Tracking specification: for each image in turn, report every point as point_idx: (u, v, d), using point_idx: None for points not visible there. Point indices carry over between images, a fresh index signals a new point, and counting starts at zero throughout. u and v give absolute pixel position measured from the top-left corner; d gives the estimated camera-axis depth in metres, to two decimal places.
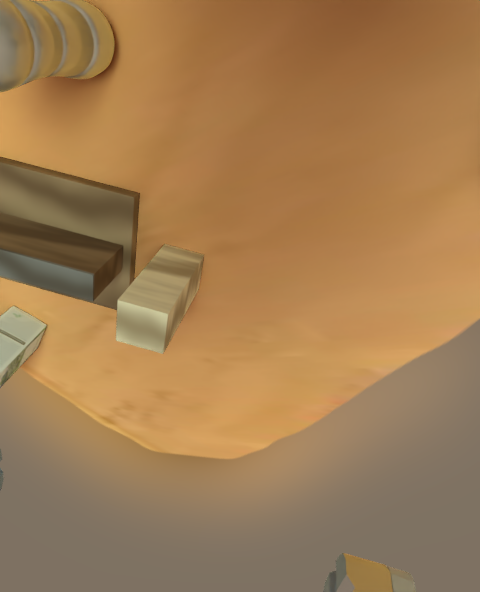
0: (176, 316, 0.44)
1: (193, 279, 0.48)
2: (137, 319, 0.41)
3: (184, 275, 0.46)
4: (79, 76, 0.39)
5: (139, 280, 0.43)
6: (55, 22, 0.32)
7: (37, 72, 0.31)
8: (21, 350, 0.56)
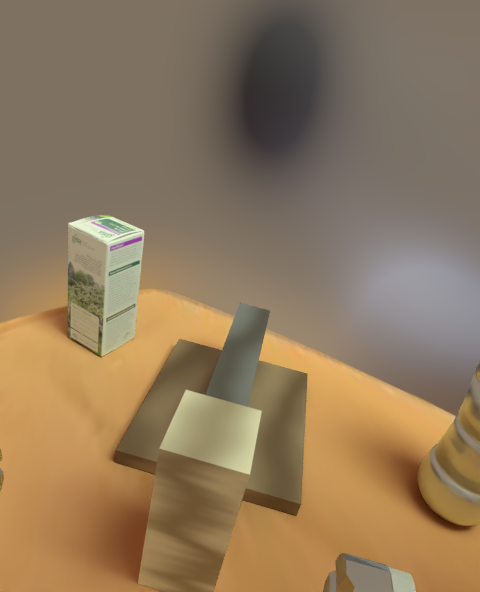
0: (192, 501, 0.24)
1: (200, 565, 0.26)
2: (230, 427, 0.25)
3: None
4: (439, 473, 0.37)
5: None
6: None
7: None
8: (104, 312, 0.45)
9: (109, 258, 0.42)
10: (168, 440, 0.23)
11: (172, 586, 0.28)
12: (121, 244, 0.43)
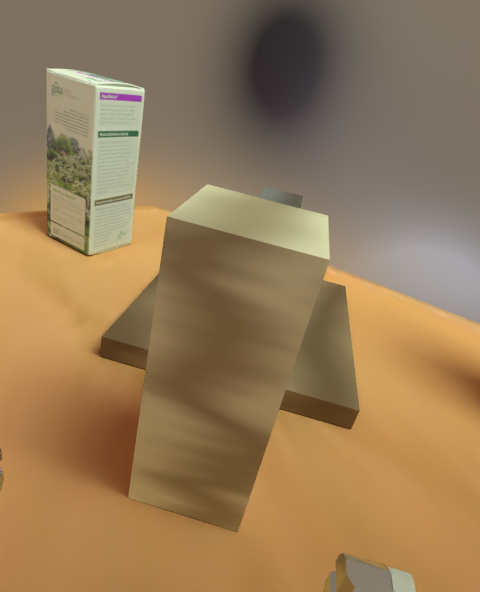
0: (221, 331, 0.14)
1: (228, 458, 0.17)
2: (284, 219, 0.15)
3: None
4: None
5: None
6: None
7: None
8: (92, 190, 0.35)
9: (98, 109, 0.33)
10: (182, 212, 0.13)
11: (181, 500, 0.18)
12: (115, 95, 0.33)
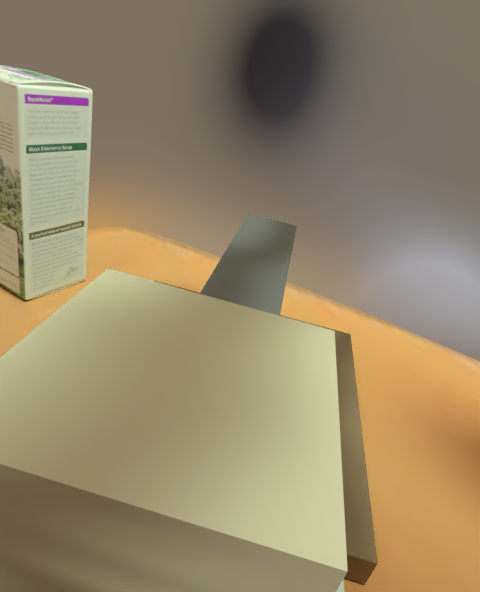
0: None
1: None
2: (242, 367, 0.07)
3: None
4: None
5: None
6: None
7: None
8: (24, 221, 0.27)
9: (24, 117, 0.25)
10: None
11: None
12: (48, 98, 0.25)
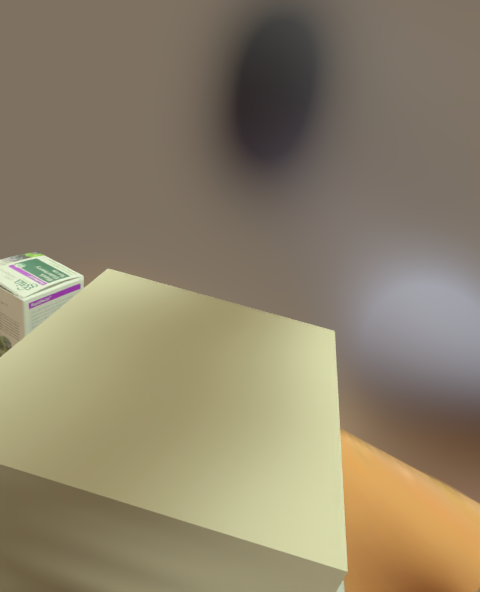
0: None
1: None
2: (242, 367, 0.07)
3: None
4: None
5: None
6: None
7: None
8: None
9: (28, 318, 0.31)
10: None
11: None
12: (47, 297, 0.32)
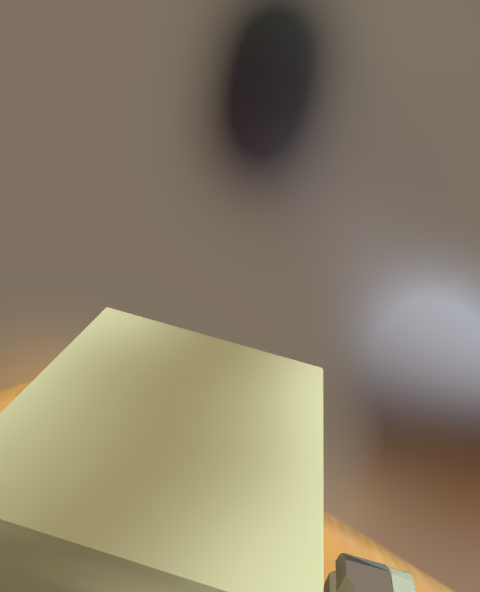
0: None
1: None
2: (233, 410, 0.08)
3: None
4: None
5: None
6: None
7: None
8: None
9: None
10: None
11: None
12: None
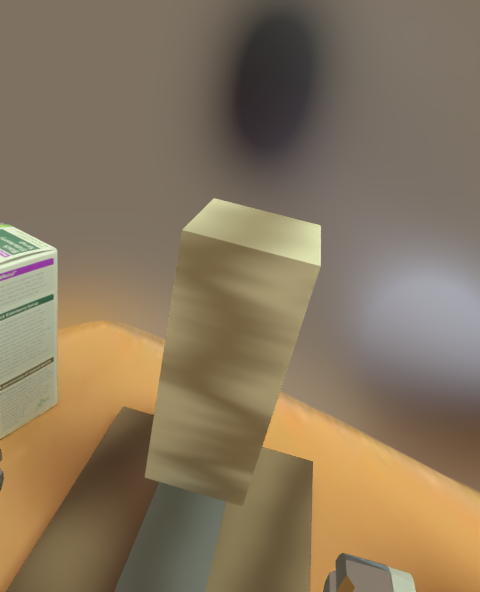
0: (228, 327, 0.16)
1: (234, 440, 0.19)
2: (281, 229, 0.17)
3: None
4: None
5: None
6: None
7: None
8: None
9: None
10: (195, 226, 0.16)
11: (192, 478, 0.20)
12: (11, 272, 0.26)
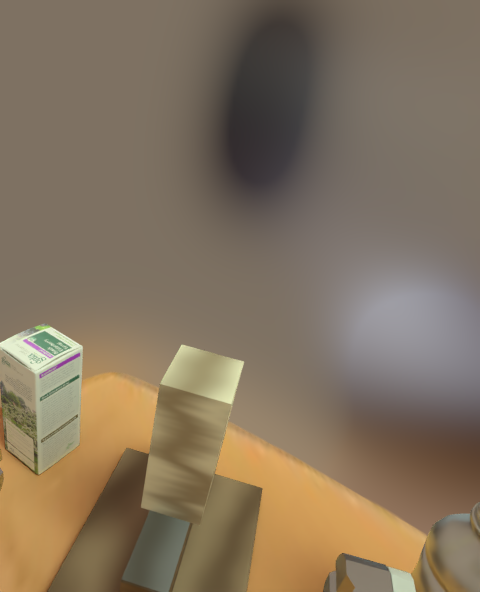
0: (186, 429, 0.30)
1: (193, 487, 0.32)
2: (217, 372, 0.31)
3: (214, 470, 0.32)
4: None
5: None
6: None
7: None
8: (38, 435, 0.42)
9: (39, 385, 0.39)
10: (167, 378, 0.29)
11: (169, 508, 0.34)
12: (54, 367, 0.40)
